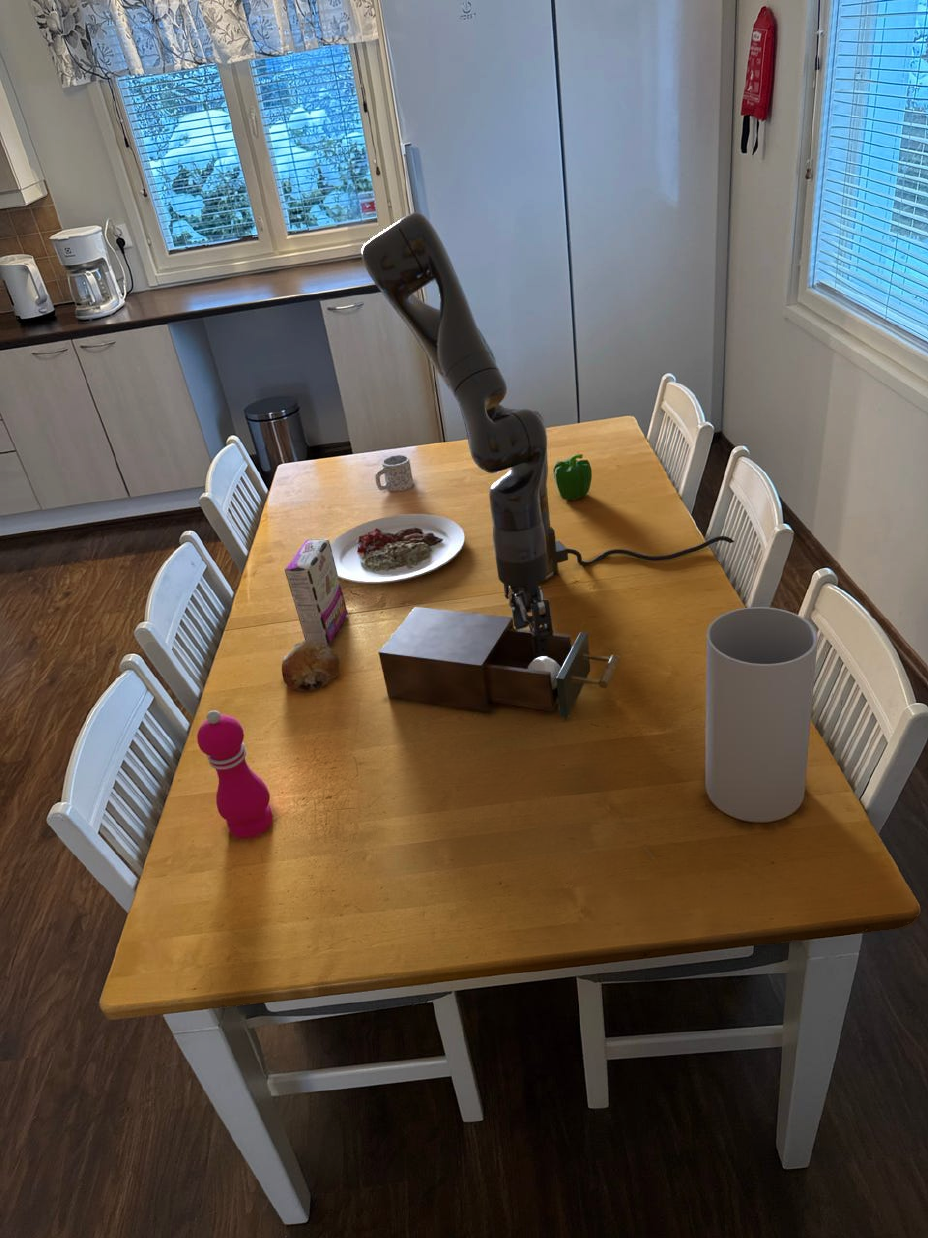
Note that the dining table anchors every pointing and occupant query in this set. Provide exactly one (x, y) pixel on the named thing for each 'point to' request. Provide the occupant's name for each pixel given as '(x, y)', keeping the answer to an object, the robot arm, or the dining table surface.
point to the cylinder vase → (758, 711)
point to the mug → (395, 473)
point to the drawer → (534, 687)
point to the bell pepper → (573, 477)
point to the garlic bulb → (546, 668)
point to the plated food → (396, 548)
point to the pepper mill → (235, 777)
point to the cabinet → (442, 658)
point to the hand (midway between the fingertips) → (531, 640)
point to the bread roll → (310, 666)
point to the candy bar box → (316, 591)
